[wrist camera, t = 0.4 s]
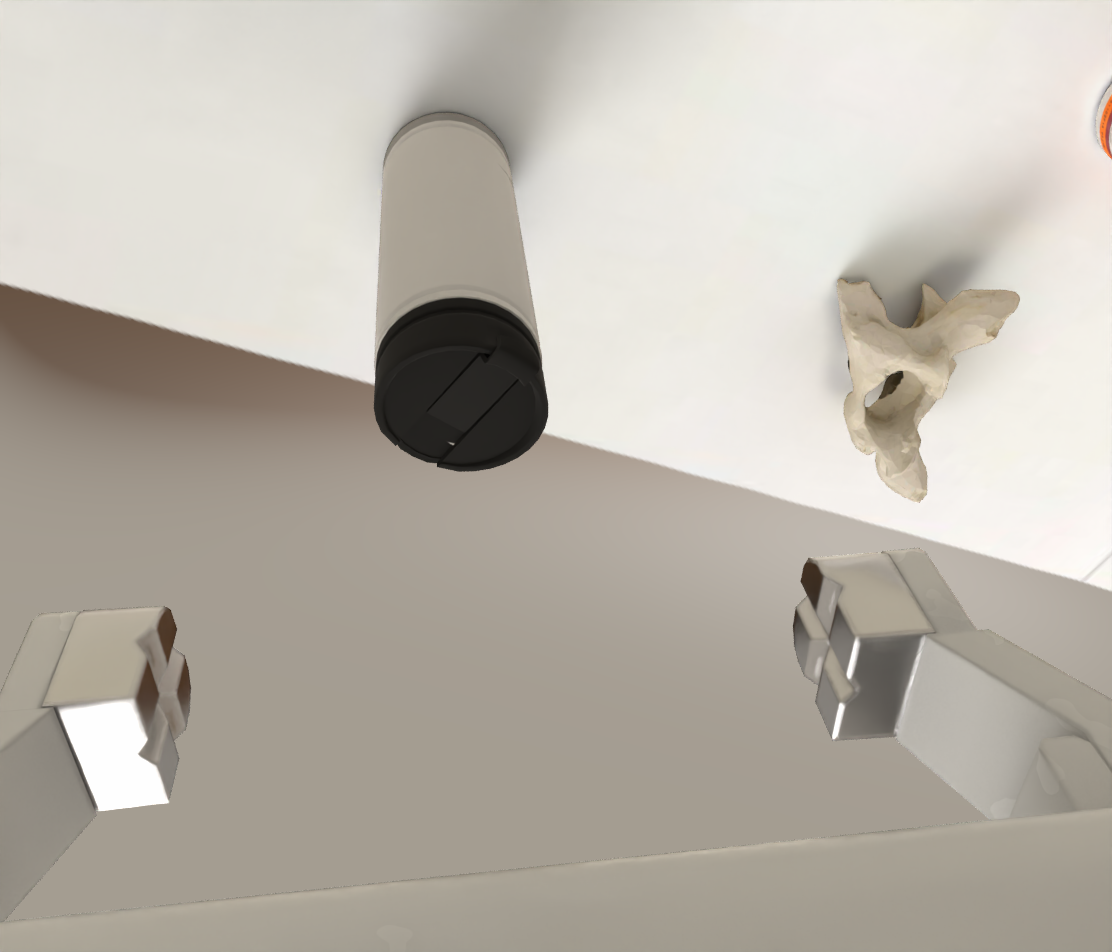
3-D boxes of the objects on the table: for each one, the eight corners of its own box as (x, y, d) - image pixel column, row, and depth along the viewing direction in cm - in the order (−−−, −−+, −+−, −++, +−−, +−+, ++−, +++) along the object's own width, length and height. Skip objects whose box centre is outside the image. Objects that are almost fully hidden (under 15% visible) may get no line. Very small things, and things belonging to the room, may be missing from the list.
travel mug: (539, 154, 50) (594, 398, 35) (461, 251, 53) (481, 513, 39) (434, 77, 47) (446, 309, 32) (358, 185, 50) (337, 441, 36)
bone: (960, 245, 58) (1047, 311, 52) (937, 438, 66) (1009, 514, 60) (813, 283, 57) (884, 355, 51) (810, 474, 66) (870, 555, 59)
